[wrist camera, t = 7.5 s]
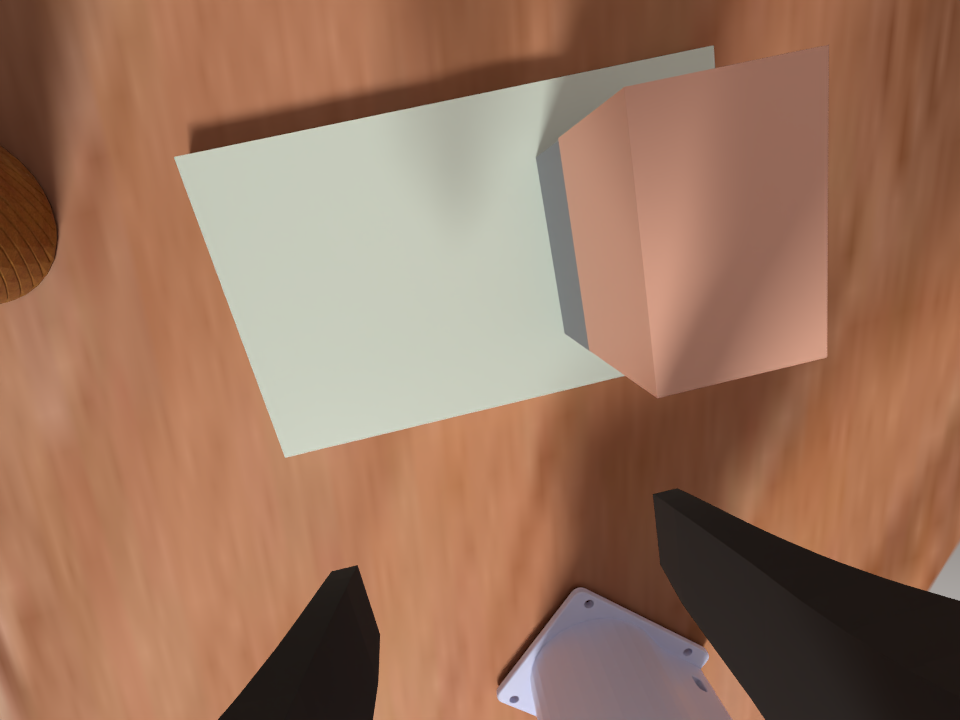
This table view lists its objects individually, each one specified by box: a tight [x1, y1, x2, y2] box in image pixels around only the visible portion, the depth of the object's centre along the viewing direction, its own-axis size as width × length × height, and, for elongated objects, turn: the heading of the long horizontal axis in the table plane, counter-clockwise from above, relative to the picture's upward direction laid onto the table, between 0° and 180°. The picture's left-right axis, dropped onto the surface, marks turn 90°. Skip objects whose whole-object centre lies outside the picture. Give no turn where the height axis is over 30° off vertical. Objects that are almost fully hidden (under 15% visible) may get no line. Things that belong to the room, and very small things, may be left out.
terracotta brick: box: [558, 45, 829, 398], centre depth 13 cm, size 4×7×5 cm, turn 11°
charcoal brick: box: [536, 141, 591, 352], centre depth 17 cm, size 4×7×3 cm, turn 11°
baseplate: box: [174, 45, 715, 458], centre depth 19 cm, size 20×12×1 cm, turn 101°
